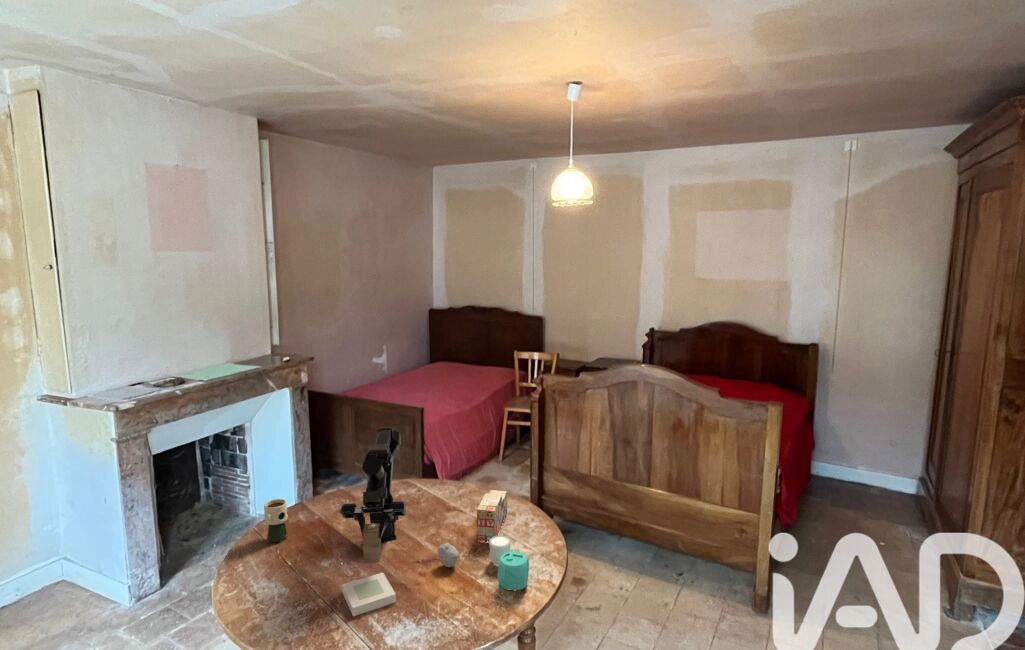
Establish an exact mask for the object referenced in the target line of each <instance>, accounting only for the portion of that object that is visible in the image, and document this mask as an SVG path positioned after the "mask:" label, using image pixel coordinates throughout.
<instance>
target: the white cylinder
mask: <svg viewBox="0 0 1025 650" xmlns="http://www.w3.org/2000/svg"><path fill="white" fill-rule="evenodd" d="M511 541H512V540H511V538H510V537H508V536H505V535H499V536H495V537H492V538H491V539H490V540H489V544H488V545H489V551H490V552H489V553H490V562H491V561H492V563H494V564H497V565H499V561H500V557H501V556H502V555H503V554H504V553H507V552H511V545H512V543H511ZM492 563H491V564H492Z"/></svg>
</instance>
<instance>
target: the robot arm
mask: <svg viewBox="0 0 1025 650" xmlns="http://www.w3.org/2000/svg"><path fill="white" fill-rule="evenodd" d="M401 444H402V437H401V433H400V432H399V431H397V430H395V429H394V427H392V426H388V427H387V426H385V427H384V426H381V427H380V428H379V427H378V430H377V432H376V438H375V445H373V446H370V447H369V449H368V450H367V452H366V454H365V457H364V459H363V463H362V465H361V466H362V471H363V473H364V476H365V478H366V489H365V491H362V505H363V506H357V504H356V503H355V502H354V503H343V504H342V505H341V508H340V514H341V516H342V517H343V519H354V520H355V521H357V522H358V525H359V529H360V533H361V537H362V539H363V529H364V526H365V524H366V517H365V514H369V521H370V524H377V523H380V531H379V539H381V543H384V542H388V541H391V540H395V539H397V535H396V532H395V531H396V529H395V523H396V522H397V521H399V520H400V519H399V517H404V516H406V515H407V513H406V512H407V507H406V503H405V502H404V501H402V500H399V501H395V500H394V497H393V494H391V493H392V481H393V480H392V479H393V469H394V459H395V457H396V455H397V454H398V453H399V451H400V446H401Z"/></svg>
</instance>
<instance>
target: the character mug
mask: <svg viewBox="0 0 1025 650" xmlns="http://www.w3.org/2000/svg"><path fill="white" fill-rule="evenodd" d="M263 510H264V521H265V524H266V525H268V527H267V540H268V542H274V543H279V542H282V541H284V540H286V537H287V536H288V531H287V530H288V529H287V526H286V523H285V522H286V521H287V520H288V517H289V515H288V513H287V512H288V503H287V500H286V499H284V498H274V499H271V500H268V501H266V502H265V503H264V504H263Z"/></svg>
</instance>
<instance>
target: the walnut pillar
mask: <svg viewBox="0 0 1025 650" xmlns="http://www.w3.org/2000/svg"><path fill="white" fill-rule="evenodd" d="M379 531H380V523H377V524H374V523H365V526H364V529H363V538H362V549H363V564H374V563H375V564H378V563H380V561H381V557H382V542H381V539H379Z"/></svg>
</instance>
